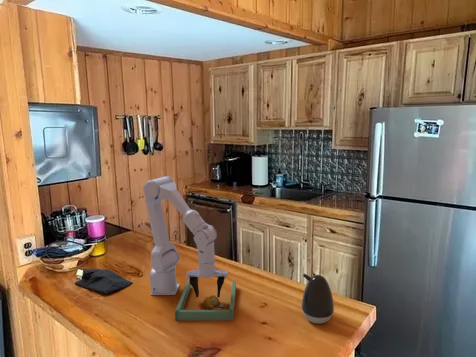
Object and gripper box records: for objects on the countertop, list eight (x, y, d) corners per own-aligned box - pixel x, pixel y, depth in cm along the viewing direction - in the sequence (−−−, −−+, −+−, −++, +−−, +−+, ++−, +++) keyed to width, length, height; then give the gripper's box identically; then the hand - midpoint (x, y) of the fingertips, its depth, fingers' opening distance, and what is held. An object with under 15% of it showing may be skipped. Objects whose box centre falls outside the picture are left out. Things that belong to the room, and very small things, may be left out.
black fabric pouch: (101, 300, 131) (100, 288, 130) (72, 283, 145) (71, 273, 144) (136, 284, 143) (135, 273, 142) (106, 270, 156) (105, 260, 156)
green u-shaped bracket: (175, 320, 117) (175, 312, 116) (187, 287, 138) (187, 280, 138) (233, 320, 116) (232, 312, 115) (236, 287, 137) (235, 280, 137)
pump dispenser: (310, 306, 123) (310, 265, 120) (338, 317, 116) (340, 274, 113) (295, 320, 115) (295, 277, 112) (324, 332, 108) (325, 286, 105)
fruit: (218, 316, 119) (218, 306, 118) (198, 310, 122) (197, 301, 122) (230, 304, 126) (230, 295, 125) (210, 299, 130) (210, 290, 129)
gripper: (227, 255, 128) (229, 290, 130) (188, 255, 128) (190, 290, 131) (226, 264, 121) (227, 300, 123) (184, 264, 122) (186, 300, 124)
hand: (208, 296), depth 127 cm, fingers open, 7 cm apart
